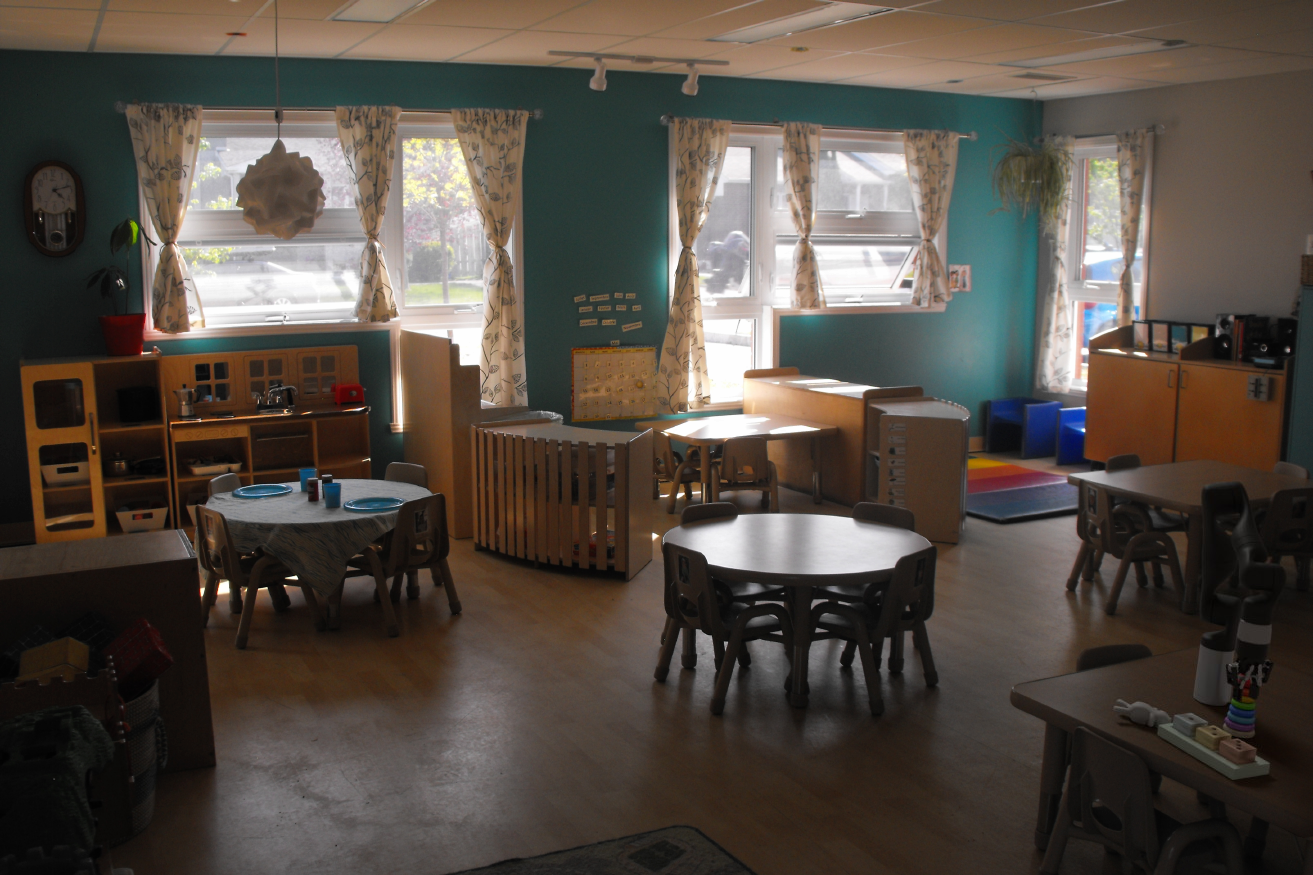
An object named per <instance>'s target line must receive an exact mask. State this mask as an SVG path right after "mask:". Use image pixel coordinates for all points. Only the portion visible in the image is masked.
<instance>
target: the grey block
mask: <svg viewBox="0 0 1313 875" xmlns="http://www.w3.org/2000/svg"><path fill="white" fill-rule="evenodd" d="M1172 720H1173V722H1172V723H1173V727H1172V728H1173V729H1175V730H1177V731H1179V732H1180V733H1182V734H1184V735H1186V736H1187V737H1189V738H1190V737H1195V736H1196V728H1199V727H1206V726H1209V721H1207V720H1205V719H1203V718H1201V717H1200V716H1197V715H1195V713H1192V712H1189V713H1188V712H1187V713H1181V714H1174V715H1173V719H1172Z"/></svg>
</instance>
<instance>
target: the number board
mask: <svg viewBox="0 0 1313 875" xmlns="http://www.w3.org/2000/svg"><path fill="white" fill-rule="evenodd" d="M1172 727H1173V722H1171V723H1169V724H1162V725H1158V728H1157V733H1156V734H1157V736H1158V737H1160V738H1161V739H1163V740H1164V741H1167V742H1168V743H1170V744H1172V745H1173V746H1175V747H1176V748H1178V749H1181V750H1182V751H1183V752H1185V753H1187V754H1188V755H1190V756H1191V757H1193V758H1195V759H1197V760H1198V761H1200V762H1202V763H1204V764H1205V765H1207V766H1208V767H1211V768H1212V769H1213V770H1215V771H1217V772H1219V773H1221V775H1223V776H1225V777H1227V778H1229V779H1230V780H1232V781H1236V780H1240V779H1242V780H1243V779H1248V778H1252V777H1259V776H1265V775H1266V776H1267V775H1269V774H1270V773H1269V772H1270V766H1271V763H1270V762H1269V761H1267V760H1264V759H1263V758H1261V757H1260V756H1258V755H1256V757H1255V762H1254V763H1248V764H1242V765H1236V764H1234V763H1232V762H1231V761H1229V760H1227V759H1225V758H1224V757H1222V756H1220V755H1218V753H1219V750H1216V751H1212V750H1210V749H1208V748H1206V747H1205V746H1203V745H1201V744H1199V743H1198V742H1196V741H1195V737H1190V738H1189V737H1187V736H1186V735H1184V734H1182V733H1180V732H1179V731H1177V730H1175V729H1173V728H1172Z"/></svg>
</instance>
